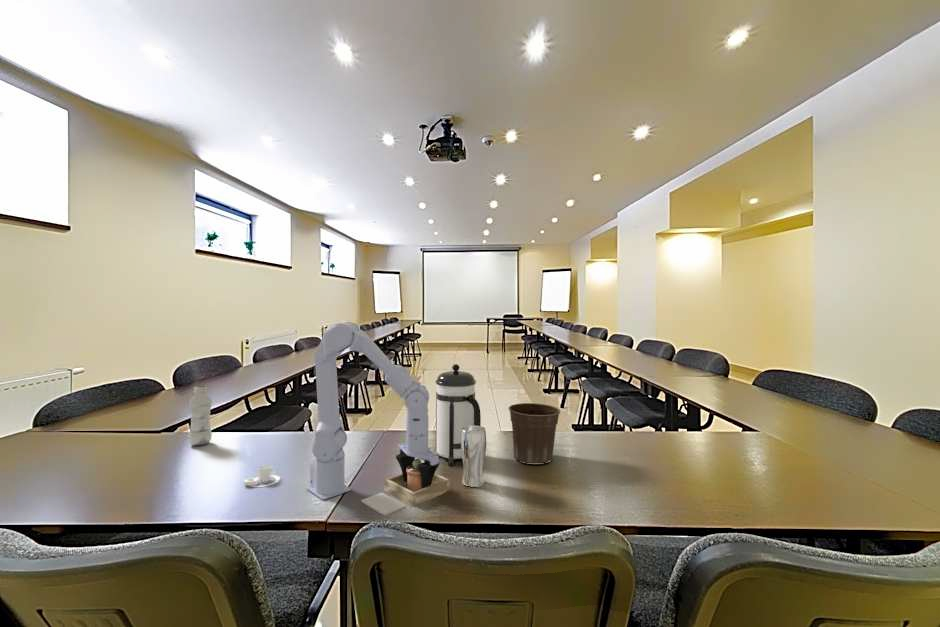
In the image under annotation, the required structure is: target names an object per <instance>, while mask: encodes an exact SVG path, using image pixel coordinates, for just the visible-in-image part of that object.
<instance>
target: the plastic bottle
mask: <svg viewBox="0 0 940 627" xmlns="http://www.w3.org/2000/svg"><path fill="white" fill-rule="evenodd" d="M207 392H208V386H207V385H198V386H194V387H193V393H194V395H193V396H192V397H191V398H190V400H189V404H188V406H189V412H190V430H189V434H188V443H189V444H190V445H191V446H202V445H206V444H209V443H210V442H211V440H212V436H213V434H212V429H211V421H210V420H211V407H212V403H213V400H212V398H211V396H210V395H209V394H208V393H207Z"/></svg>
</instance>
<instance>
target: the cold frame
mask: <svg viewBox="0 0 940 627" xmlns="http://www.w3.org/2000/svg"><path fill="white" fill-rule="evenodd" d="M383 484H384V485H383V486H384V492H386V493H387V494H389V495H391V496H393V497H395V498H396V499H398V500H401V501H402V502H404V503H406V504H408V505H410V506H411V507H415V506H417V505H420V504H422V503H425V502H427V501H429V500H432V499H434V498H437V497H439V496H441V495H443V493H444V494H446V493H448V492H450V479H448V478H446V477H445V476H442V475H439V474H437V473H435V474H434V476H433V479H432V483H431V485H430V486H428V487H425V488H423V489H420V490H418V491H415V492H413V491H411V490H409V489H407V488H406V487H404V486H406V485H407V482H405V481H404V478H403V474H402V473H399V474H397V475H396V474H395V475H393V476H392V477H388V478H385V479H384V483H383ZM447 491H448V492H447ZM445 492H446V493H445ZM438 495H439V496H438ZM436 496H437V497H436Z"/></svg>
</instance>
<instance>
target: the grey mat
mask: <svg viewBox="0 0 940 627" xmlns="http://www.w3.org/2000/svg"><path fill="white" fill-rule="evenodd" d="M360 502H361V503H362V504H364V505H366V506H367V507H369V508H371V509H372V510H374V511H376V512H377V513H378V514H381V515H382V516H384V517H386V516H388V515H390V514H393V513H395V512H398V511H400V510H402V509H404V508H406V505H405V504H403V503H401V502H400V501H398V500H396V499H395V498H392V497H391V496H389V495H387V494H385V493H384V492H378V493H377V494H374V495H371V496H368V497H366V498H363V499H361V501H360Z"/></svg>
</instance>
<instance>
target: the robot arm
mask: <svg viewBox="0 0 940 627" xmlns="http://www.w3.org/2000/svg"><path fill="white" fill-rule="evenodd" d="M348 348H349V351H352V352H353V351H354V352H359V353H363V354H364V356H366V357H367V359H369V361H371V362H372V363H373V364H374V365H375V366H376V367H377V368H378V369H379V370H380V371H381V372H382V373H384V382H385V383H387V384H388V386H389V387H390V388H391V389H392V390H393V391H394V392H395V393H396V394H397V395H398V396H399V397H400V398H401V399H403V400H404V405H405V408H406V412H407V413H406V427H405V428H406V432H405V433H406V434H405V435H406V436H405V438H406V439H405V442H406V443H405V442H401V443H397V452H398V454H396V455H395V459H396V461H397V462H398V464H399V467H400V469H401V474H403V478H404V481H405V482H407V472H406V468H407V467H408V466H410V465H413V461H414V460H415V459H420V460H421V461H423V462H422V463H421V464H418V468H419V470H420V474H421V482H422V489H423V488H425V487H428V486H430V485H431V483H432V479H433V476H434V474H436V472H437V469H438V468H439V467H440V461H439V455H437V454H435V453H433V452H434V451H432V448H431V446H429V408H428V407H429V406H428V405H429V400H430V393H429V390H428V389H427V387H426V386H425V385H422V383H421V382H420V381H419V380H418V381H417V380H416V379H415V378H414V376H412V375H411V374H410V373H409V369H408V367H407V366H405V367H404V366H402V365H400V364H394V363H393V362H392V361H391V360H390V358H388V356H387V355H386V354H385V353H384V352H383V350H382V349H381V348H379V346H378V345H377V344H376V342H374V341H373V339H372V338H371V337H370V336H369V335H368V334H367V333H366V332H365V331H364V330H363V329H360V327H359V326H358V325H357V324H356V323H354V322H351V321H350V322H349V321H347V322H344V323H336V324H335V323H334V324H333V325H332V326H330V327H329V328H327V330H325V331H324V332H323V336H322V338H321V341H320V342H319V344H318V346H317V348H316V350H315V352H314V365H315V383H316V399H317V400H316V401H317V415H318V423H317V426H316V430H315V433H314V434H315V436H314V441H313V443H312V447H311V449H312V450H311V451H312V455H313V457H312V458H311V460H310V463H309V485H308V486H306V490H308V491H309V492H311V493H312V494H314V496H316V497H318V498H320V500H322V501H323V500H327V499H331V498H334V497H336V496H338V495H339V496H340V495H341V494H344V493H347V492H350V491H352V488H351V487H350V486H348V485H346V484H345V472H346V471H345V464H346V463H345V461H346V459H345V457H346V456H345V451H344V449H343V448H344V447H345V446H346V444H347V441H348V435H347V433H346V431H345V430H344V427H343V426H344V424H343V423H344V422H343V421H342V419H341V418H340V406H339V404H340V402H339V389H338V372H337V371H338V369H337V368H338V367H337V358H338V357H340V355H341V354H342V353H343V352H345V351H346V350H347V349H348Z"/></svg>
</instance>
